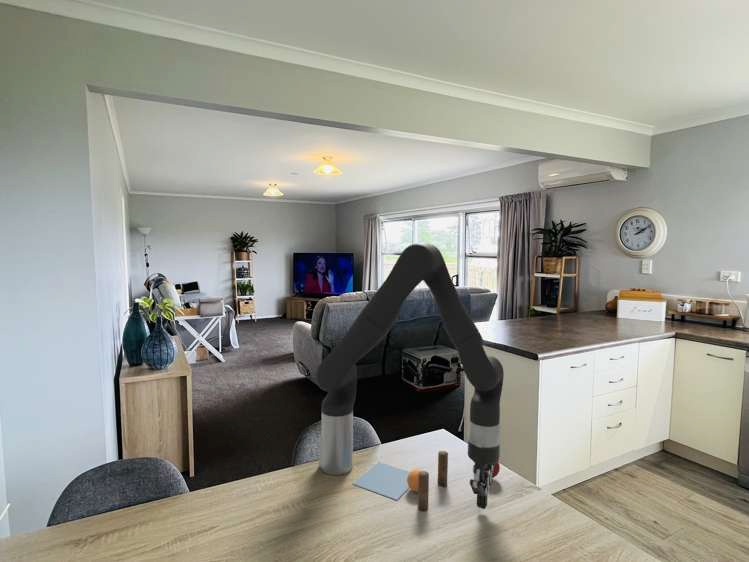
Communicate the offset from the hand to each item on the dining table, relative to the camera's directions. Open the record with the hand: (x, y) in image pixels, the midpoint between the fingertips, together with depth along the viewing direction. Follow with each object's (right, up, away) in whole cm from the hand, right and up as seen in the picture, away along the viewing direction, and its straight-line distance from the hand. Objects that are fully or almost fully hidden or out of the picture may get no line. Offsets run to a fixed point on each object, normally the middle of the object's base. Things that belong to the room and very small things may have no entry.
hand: (481, 506), depth 104 cm
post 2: (-8, -1, +12) cm, 15 cm away
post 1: (-14, -1, +2) cm, 15 cm away
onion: (+6, -1, +15) cm, 16 cm away
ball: (-15, +2, +9) cm, 18 cm away
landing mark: (-23, 0, +14) cm, 27 cm away
